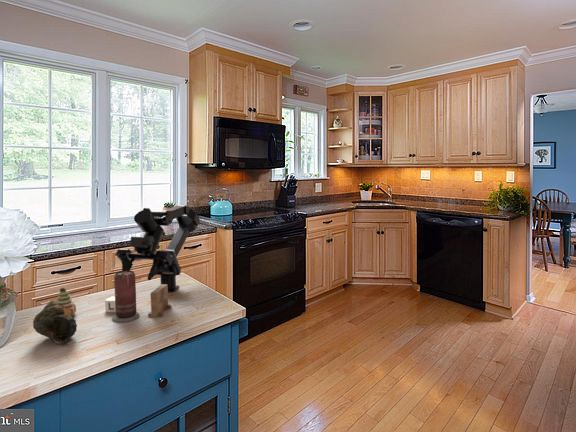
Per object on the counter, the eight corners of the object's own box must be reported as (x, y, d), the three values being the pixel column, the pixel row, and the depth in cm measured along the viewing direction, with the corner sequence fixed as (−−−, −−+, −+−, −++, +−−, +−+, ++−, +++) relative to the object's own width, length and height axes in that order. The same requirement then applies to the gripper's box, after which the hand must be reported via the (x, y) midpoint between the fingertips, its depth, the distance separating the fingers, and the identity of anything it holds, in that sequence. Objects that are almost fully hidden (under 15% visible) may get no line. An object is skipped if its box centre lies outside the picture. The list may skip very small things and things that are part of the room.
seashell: (28, 353, 95) (25, 316, 93) (38, 335, 105) (35, 301, 104) (76, 346, 99) (73, 310, 98) (80, 329, 109) (78, 296, 108)
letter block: (111, 307, 127) (111, 296, 126) (123, 307, 126) (122, 296, 126) (105, 312, 123) (104, 300, 122) (117, 312, 122) (116, 300, 122)
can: (121, 320, 114) (119, 276, 113) (112, 315, 118) (110, 272, 117) (140, 315, 119) (138, 272, 117) (131, 310, 123) (129, 269, 121)
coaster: (120, 312, 122) (120, 310, 122) (143, 312, 122) (143, 311, 122) (106, 322, 114) (106, 320, 114) (131, 322, 114) (131, 321, 114)
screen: (159, 306, 128) (158, 284, 127) (171, 306, 127) (171, 284, 126) (147, 316, 119) (146, 292, 118) (161, 317, 118) (160, 293, 117)
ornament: (45, 323, 113) (42, 292, 112) (48, 316, 118) (46, 286, 117) (75, 319, 116) (73, 288, 115) (76, 312, 122) (74, 283, 121)
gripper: (116, 225, 127) (97, 265, 118) (167, 227, 124) (151, 268, 115) (131, 243, 136) (114, 281, 127) (178, 245, 133) (165, 284, 124)
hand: (135, 278), depth 123 cm, fingers open, 9 cm apart
